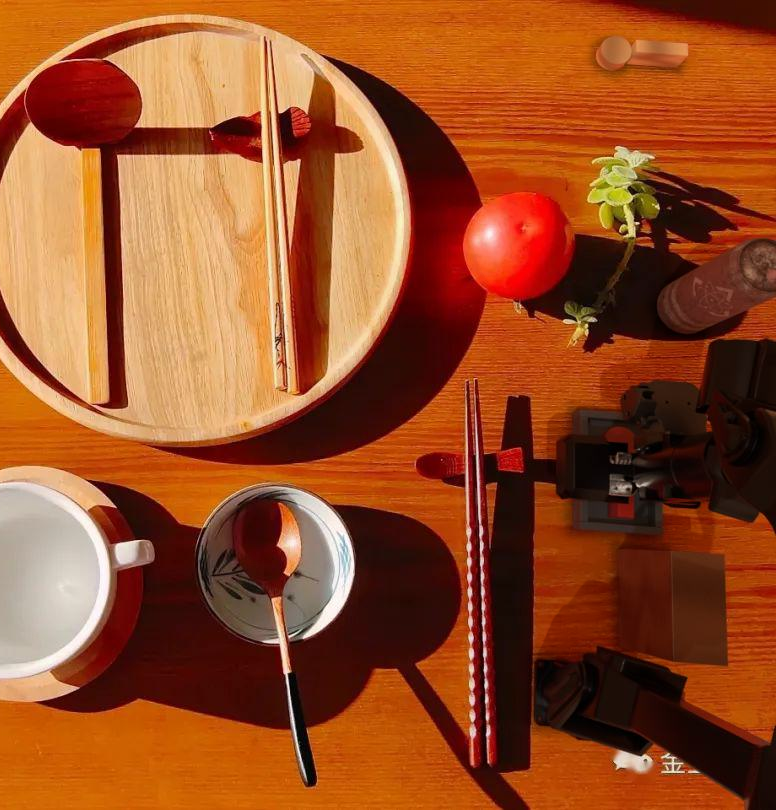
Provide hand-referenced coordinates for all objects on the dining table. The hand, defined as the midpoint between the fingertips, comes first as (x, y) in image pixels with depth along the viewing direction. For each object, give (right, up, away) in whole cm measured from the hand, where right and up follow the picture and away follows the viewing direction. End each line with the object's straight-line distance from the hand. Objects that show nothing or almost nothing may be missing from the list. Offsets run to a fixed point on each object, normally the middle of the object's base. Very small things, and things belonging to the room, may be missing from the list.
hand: (614, 480), depth 82 cm
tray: (0, +1, +1) cm, 1 cm away
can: (+10, +19, +4) cm, 21 cm away
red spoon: (0, +1, 0) cm, 1 cm away
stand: (+2, -12, -2) cm, 13 cm away
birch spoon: (+7, +49, +9) cm, 50 cm away
